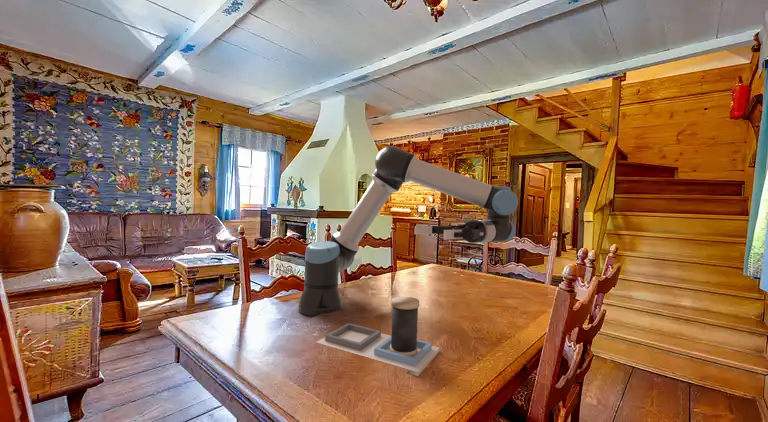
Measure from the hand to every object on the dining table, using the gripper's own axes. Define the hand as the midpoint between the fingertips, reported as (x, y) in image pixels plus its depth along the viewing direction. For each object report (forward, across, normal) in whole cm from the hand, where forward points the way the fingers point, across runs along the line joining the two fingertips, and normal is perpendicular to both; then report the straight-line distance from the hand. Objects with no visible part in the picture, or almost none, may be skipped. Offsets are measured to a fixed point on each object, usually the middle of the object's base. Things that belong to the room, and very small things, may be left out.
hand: (429, 232), depth 102 cm
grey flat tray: (+20, -4, -30) cm, 36 cm away
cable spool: (+16, -11, -29) cm, 35 cm away
